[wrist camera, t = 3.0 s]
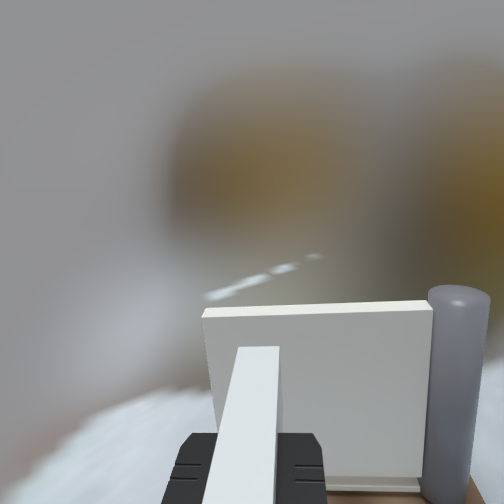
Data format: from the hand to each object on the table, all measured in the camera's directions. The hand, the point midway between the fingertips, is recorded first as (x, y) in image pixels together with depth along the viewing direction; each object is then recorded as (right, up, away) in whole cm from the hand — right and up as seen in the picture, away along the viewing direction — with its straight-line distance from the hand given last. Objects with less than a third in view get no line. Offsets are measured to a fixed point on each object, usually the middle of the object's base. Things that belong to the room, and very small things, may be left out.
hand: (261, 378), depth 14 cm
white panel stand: (+6, -11, +12) cm, 17 cm away
